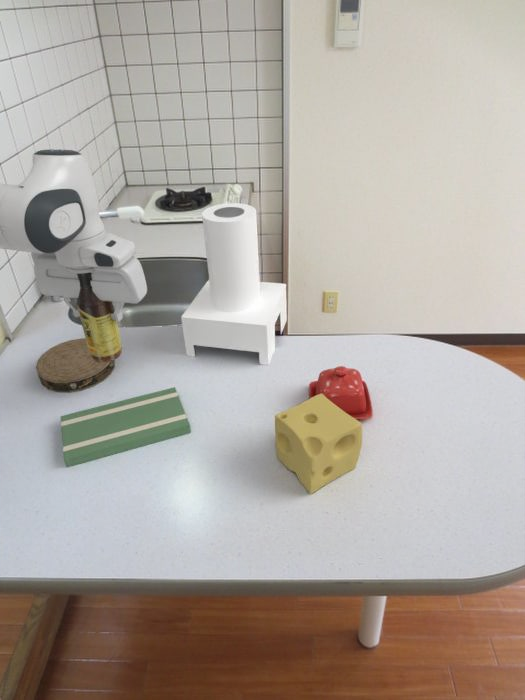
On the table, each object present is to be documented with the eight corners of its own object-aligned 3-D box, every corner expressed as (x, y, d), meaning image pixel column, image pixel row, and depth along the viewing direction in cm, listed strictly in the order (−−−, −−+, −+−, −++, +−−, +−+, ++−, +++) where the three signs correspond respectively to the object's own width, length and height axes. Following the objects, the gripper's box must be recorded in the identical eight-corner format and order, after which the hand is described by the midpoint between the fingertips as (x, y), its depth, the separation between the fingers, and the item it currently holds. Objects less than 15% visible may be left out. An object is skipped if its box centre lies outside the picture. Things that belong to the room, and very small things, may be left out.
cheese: (310, 496, 83) (311, 451, 77) (272, 456, 90) (270, 412, 85) (360, 468, 87) (364, 423, 82) (320, 431, 95) (321, 388, 89)
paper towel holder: (286, 320, 128) (284, 198, 111) (268, 365, 113) (262, 232, 96) (213, 313, 132) (201, 195, 115) (186, 355, 117) (167, 226, 100)
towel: (66, 467, 90) (63, 458, 89) (63, 424, 100) (60, 415, 99) (190, 432, 96) (189, 424, 95) (176, 394, 106) (174, 386, 104)
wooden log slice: (127, 353, 119) (125, 342, 117) (92, 397, 106) (88, 385, 104) (65, 345, 122) (62, 335, 121) (24, 387, 110) (19, 376, 108)
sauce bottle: (90, 349, 103) (66, 256, 92) (122, 343, 105) (102, 250, 94) (91, 367, 98) (66, 271, 87) (125, 361, 100) (104, 265, 89)
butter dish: (310, 424, 97) (311, 388, 92) (308, 385, 106) (308, 351, 101) (373, 423, 96) (377, 387, 91) (365, 385, 106) (368, 350, 101)
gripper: (17, 251, 89) (40, 321, 97) (126, 259, 84) (141, 332, 92) (39, 237, 94) (59, 304, 102) (143, 244, 89) (156, 314, 97)
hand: (99, 317), depth 97 cm, fingers closed on sauce bottle, 6 cm apart
